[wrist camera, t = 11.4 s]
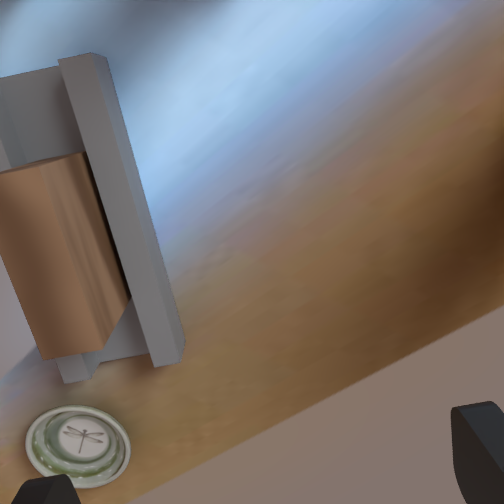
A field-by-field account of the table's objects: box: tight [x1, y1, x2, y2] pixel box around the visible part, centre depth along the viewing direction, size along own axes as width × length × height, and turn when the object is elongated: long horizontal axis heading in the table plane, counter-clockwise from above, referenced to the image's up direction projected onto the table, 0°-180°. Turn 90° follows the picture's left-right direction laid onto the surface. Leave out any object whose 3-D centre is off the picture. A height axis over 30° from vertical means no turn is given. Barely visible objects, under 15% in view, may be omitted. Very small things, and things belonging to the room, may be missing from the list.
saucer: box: [25, 405, 131, 488], centre depth 42 cm, size 10×10×2 cm
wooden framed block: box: [0, 151, 132, 360], centre depth 31 cm, size 4×12×9 cm, turn 11°
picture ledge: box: [0, 53, 185, 384], centre depth 35 cm, size 10×24×4 cm, turn 11°
